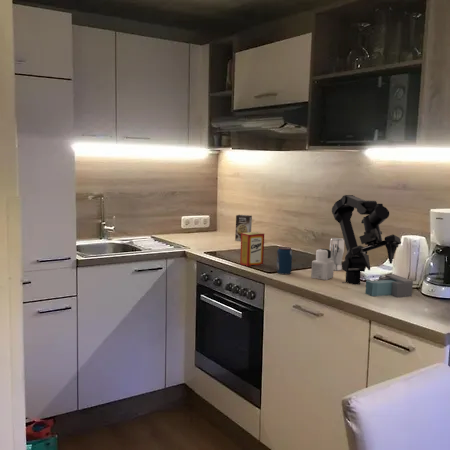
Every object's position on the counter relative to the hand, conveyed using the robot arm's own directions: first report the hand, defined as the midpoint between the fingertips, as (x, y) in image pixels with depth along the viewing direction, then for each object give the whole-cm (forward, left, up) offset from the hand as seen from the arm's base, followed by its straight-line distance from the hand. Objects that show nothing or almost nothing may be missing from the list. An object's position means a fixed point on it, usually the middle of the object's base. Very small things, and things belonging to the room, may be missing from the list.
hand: (379, 266), depth 210 cm
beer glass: (-53, +13, -13) cm, 56 cm away
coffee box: (-144, +1, -13) cm, 144 cm away
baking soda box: (-73, -23, -13) cm, 77 cm away
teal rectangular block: (-3, +5, -12) cm, 13 cm away
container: (-38, -3, -13) cm, 40 cm away
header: (-3, +10, -13) cm, 16 cm away
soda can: (-51, -16, -13) cm, 55 cm away
